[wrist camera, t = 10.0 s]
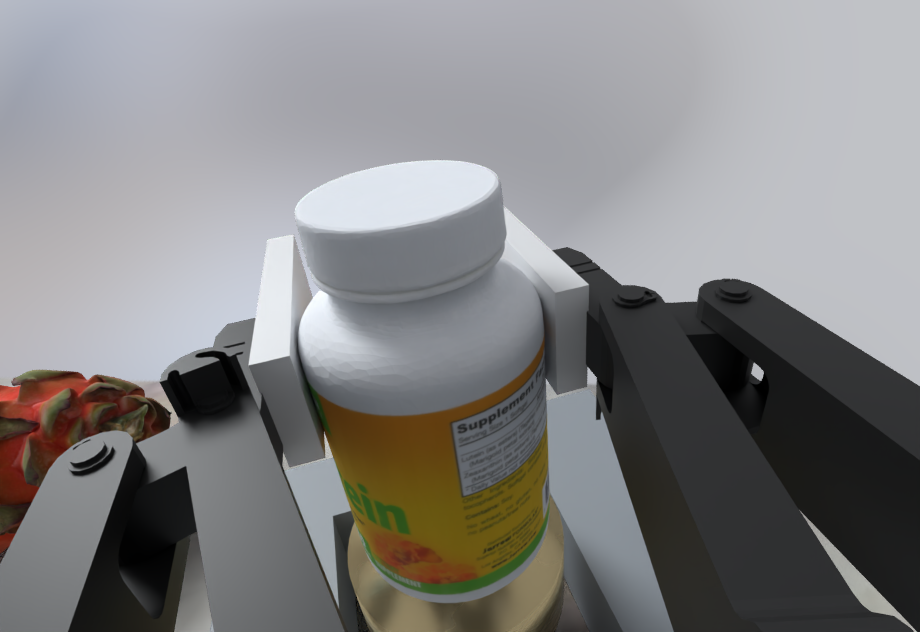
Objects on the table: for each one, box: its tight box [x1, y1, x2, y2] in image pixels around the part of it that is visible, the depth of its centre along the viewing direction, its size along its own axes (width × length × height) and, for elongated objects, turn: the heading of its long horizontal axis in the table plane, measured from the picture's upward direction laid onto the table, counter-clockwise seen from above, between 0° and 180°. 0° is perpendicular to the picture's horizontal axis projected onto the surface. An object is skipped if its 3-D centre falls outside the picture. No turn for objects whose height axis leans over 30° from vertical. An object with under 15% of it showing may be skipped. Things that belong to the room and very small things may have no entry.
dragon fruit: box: [0, 370, 171, 554], centre depth 23 cm, size 8×8×12 cm
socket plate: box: [210, 389, 674, 632], centre depth 18 cm, size 16×14×4 cm
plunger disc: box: [348, 495, 564, 632], centre depth 16 cm, size 6×6×2 cm
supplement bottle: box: [295, 160, 550, 603], centre depth 12 cm, size 5×5×10 cm
